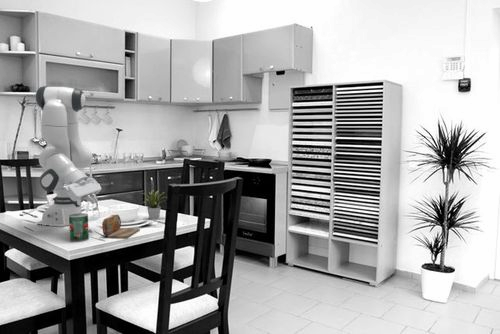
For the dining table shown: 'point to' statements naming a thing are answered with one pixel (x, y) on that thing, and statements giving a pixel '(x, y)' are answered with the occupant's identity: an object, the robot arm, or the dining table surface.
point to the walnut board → (124, 233)
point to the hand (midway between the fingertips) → (95, 202)
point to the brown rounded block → (111, 224)
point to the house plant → (153, 205)
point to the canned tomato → (78, 227)
